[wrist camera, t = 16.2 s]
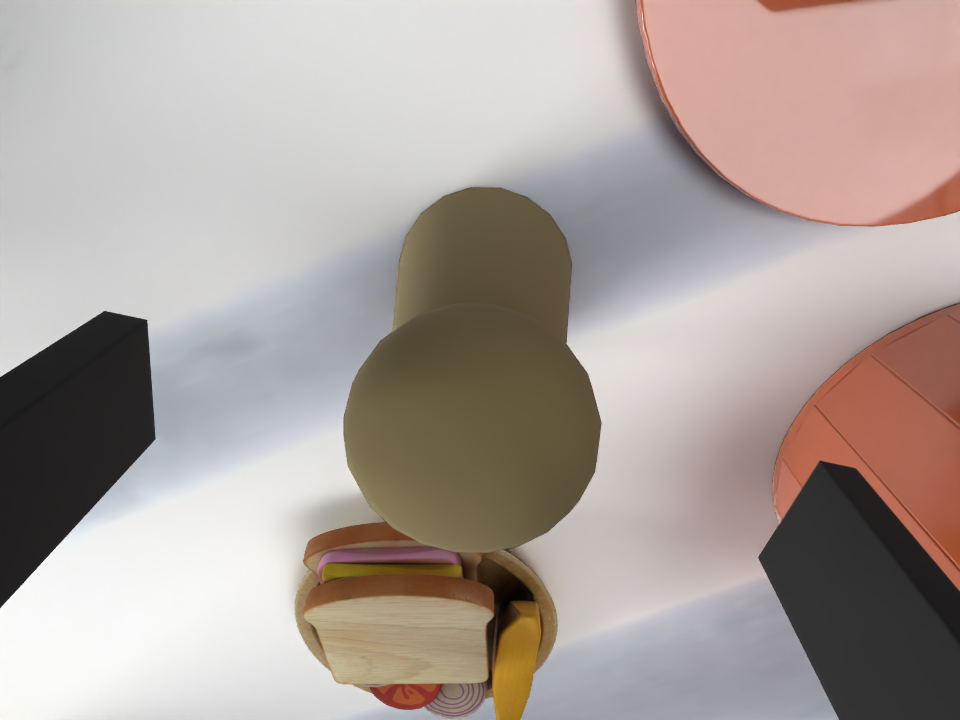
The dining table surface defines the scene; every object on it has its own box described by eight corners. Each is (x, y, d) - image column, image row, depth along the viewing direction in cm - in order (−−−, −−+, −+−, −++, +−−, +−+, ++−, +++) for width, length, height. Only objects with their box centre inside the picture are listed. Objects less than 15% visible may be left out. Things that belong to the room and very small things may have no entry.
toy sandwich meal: (306, 670, 31) (276, 766, 27) (295, 479, 25) (252, 565, 20) (534, 693, 31) (539, 792, 27) (581, 509, 25) (597, 602, 21)
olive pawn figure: (564, 173, 18) (633, 310, 9) (578, 341, 21) (642, 587, 11) (381, 201, 19) (251, 358, 9) (418, 360, 22) (349, 610, 12)
